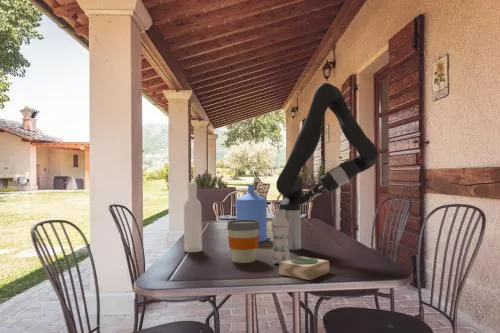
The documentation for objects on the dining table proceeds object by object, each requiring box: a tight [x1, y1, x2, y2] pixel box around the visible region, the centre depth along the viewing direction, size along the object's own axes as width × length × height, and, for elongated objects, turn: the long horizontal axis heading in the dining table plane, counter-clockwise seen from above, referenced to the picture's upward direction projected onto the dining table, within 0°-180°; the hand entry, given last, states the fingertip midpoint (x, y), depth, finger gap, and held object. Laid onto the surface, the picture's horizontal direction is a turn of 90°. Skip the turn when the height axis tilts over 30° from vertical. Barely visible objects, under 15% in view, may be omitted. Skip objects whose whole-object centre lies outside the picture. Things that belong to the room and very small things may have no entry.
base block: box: [278, 255, 330, 281], centre depth 135 cm, size 12×12×4 cm
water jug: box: [235, 184, 268, 243], centre depth 205 cm, size 16×16×28 cm
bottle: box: [183, 182, 203, 253], centre depth 178 cm, size 8×8×30 cm
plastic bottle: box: [271, 208, 291, 265], centre depth 150 cm, size 6×7×20 cm
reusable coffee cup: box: [226, 219, 260, 264], centre depth 157 cm, size 13×13×15 cm
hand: (299, 202), depth 160 cm, fingers open, 8 cm apart
